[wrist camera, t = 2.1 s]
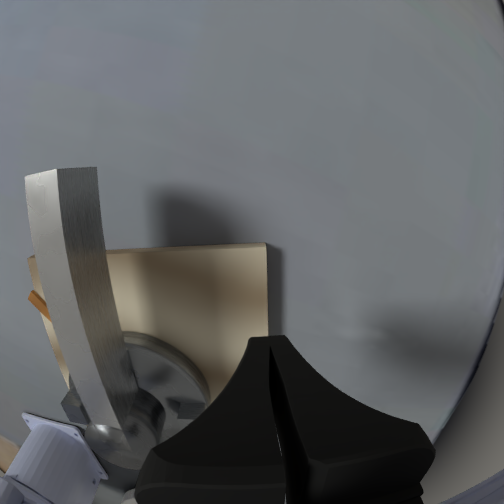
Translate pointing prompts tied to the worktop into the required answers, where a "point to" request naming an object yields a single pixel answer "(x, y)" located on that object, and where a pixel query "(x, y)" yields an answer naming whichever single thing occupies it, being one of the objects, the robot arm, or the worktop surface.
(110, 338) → the metal lever mechanism
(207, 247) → the square wooden board
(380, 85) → the worktop surface
